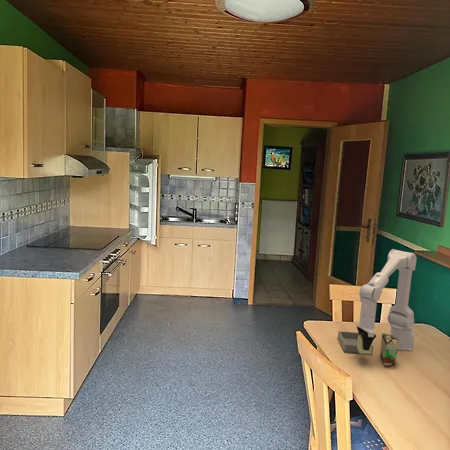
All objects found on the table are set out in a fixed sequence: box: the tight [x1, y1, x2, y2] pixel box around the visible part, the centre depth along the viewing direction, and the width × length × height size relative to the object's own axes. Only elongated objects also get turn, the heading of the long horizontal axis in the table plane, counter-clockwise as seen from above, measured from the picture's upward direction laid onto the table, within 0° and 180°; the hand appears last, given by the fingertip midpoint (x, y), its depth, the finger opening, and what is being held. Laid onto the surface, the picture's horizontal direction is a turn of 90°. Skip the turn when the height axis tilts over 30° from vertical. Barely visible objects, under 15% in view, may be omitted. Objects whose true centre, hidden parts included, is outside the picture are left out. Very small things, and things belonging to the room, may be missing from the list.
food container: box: [379, 332, 400, 368], centre depth 173 cm, size 12×6×10 cm, turn 168°
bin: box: [337, 330, 374, 356], centre depth 188 cm, size 11×15×4 cm
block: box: [357, 334, 373, 355], centre depth 172 cm, size 4×4×6 cm
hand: (364, 347), depth 173 cm, fingers closed on block, 4 cm apart
